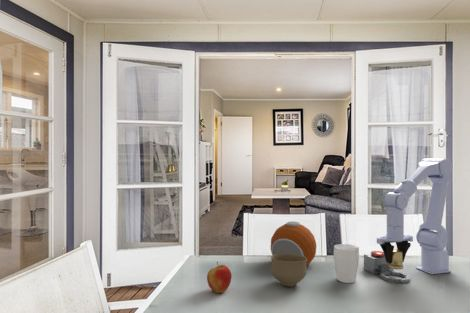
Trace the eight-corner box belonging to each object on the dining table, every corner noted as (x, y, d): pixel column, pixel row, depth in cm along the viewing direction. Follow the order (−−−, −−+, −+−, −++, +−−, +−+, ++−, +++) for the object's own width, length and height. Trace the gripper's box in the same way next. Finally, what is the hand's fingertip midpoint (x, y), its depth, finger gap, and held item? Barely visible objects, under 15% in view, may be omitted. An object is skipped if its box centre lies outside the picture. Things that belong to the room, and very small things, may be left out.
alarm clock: (322, 261, 151) (322, 221, 151) (308, 273, 136) (308, 228, 136) (280, 255, 161) (280, 217, 161) (263, 265, 146) (263, 223, 146)
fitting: (396, 264, 134) (396, 248, 134) (406, 268, 129) (406, 252, 129) (384, 265, 133) (384, 249, 133) (393, 269, 128) (393, 253, 128)
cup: (361, 285, 124) (361, 251, 124) (334, 283, 126) (334, 249, 126) (357, 276, 133) (357, 244, 133) (332, 274, 135) (332, 243, 135)
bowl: (309, 280, 129) (309, 253, 129) (304, 293, 117) (304, 263, 117) (275, 276, 133) (275, 250, 133) (267, 288, 121) (267, 259, 121)
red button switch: (378, 264, 147) (378, 248, 147) (415, 281, 128) (415, 262, 128) (358, 267, 144) (358, 249, 144) (393, 284, 125) (393, 264, 125)
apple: (222, 298, 113) (222, 267, 113) (202, 293, 118) (202, 263, 118) (236, 290, 120) (236, 260, 120) (216, 285, 125) (216, 256, 125)
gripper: (403, 222, 137) (402, 257, 137) (371, 224, 133) (371, 260, 133) (417, 225, 130) (417, 262, 130) (384, 228, 126) (384, 266, 126)
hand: (394, 262), depth 131 cm, fingers closed on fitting, 5 cm apart
